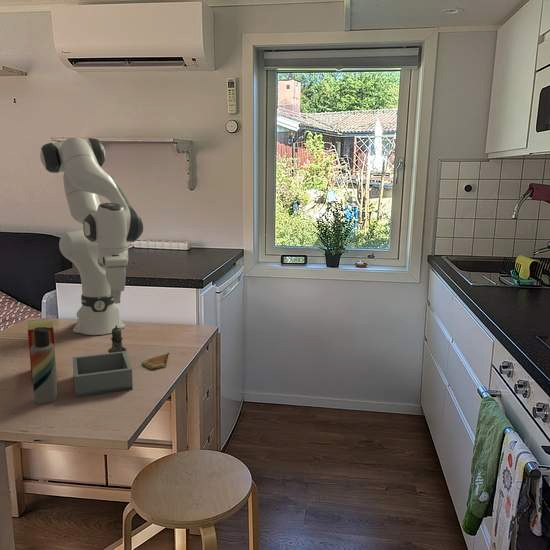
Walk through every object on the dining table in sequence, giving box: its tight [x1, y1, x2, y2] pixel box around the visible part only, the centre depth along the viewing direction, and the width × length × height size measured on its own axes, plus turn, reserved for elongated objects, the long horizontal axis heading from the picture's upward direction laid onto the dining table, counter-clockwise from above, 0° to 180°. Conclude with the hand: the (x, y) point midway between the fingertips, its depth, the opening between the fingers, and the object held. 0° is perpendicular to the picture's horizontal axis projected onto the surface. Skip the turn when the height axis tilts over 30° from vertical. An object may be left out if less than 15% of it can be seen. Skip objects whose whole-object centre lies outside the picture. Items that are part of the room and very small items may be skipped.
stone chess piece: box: [107, 325, 128, 353], centre depth 157 cm, size 6×6×12 cm
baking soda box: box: [27, 318, 57, 383], centre depth 144 cm, size 10×6×16 cm
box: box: [72, 351, 134, 398], centre depth 141 cm, size 15×15×6 cm
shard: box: [141, 352, 170, 370], centre depth 157 cm, size 11×8×2 cm
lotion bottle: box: [29, 327, 59, 405], centre depth 128 cm, size 6×6×20 cm
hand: (115, 299), depth 154 cm, fingers open, 8 cm apart
